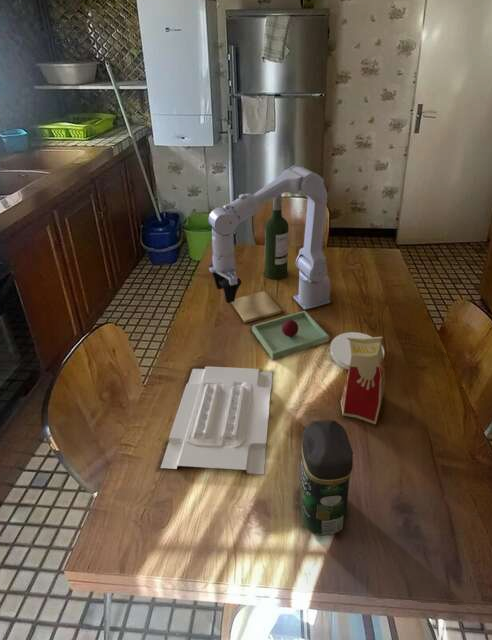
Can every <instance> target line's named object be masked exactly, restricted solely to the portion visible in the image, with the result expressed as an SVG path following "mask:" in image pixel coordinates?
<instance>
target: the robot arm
mask: <svg viewBox="0 0 492 640" xmlns="http://www.w3.org/2000/svg"><path fill="white" fill-rule="evenodd" d="M324 183H325V179H324V178H322V176H320V175H319V174H318V173H316V172H313V171H311V170H309V169H307V168H306V167H304V166H302V165H301V164H294V165H292V166H290V167H289V168H286V169H285V170H283V172H282V173H281V174H280V175H279V176H277V177H276V178H275V179H273V180H272V181H271V182H269V183H268V184H267V185H265V186H263V187H262V188H260V189H259V190H258V191H256V192H255V193H253V194H251V193H244V194H243V193H241V194H239V195H238V198H236V199H235V200H233V201H231V202H230V203H228V204H224V205H223V207H216V208H214V209H213V210H212V211H210V213H209V215H208V217H207V222H208V224H209V226H211V244H212V255H211V261H212V264H211V265H209V266H208V269H209V272H210V273H211V275H212V276H213V280H214V283H215V287H216V289H217V290H222V291H223V294H224V300H225V302H226V303H227V304H231V302H234V300H235V299H236V295H237V292H238V289H239V288H240V286H241V285H242V280H241V278H240V277H237V271H236V270H237V268H236V264H235V263H236V261H235V237H234V232H235V231H236V230H237V227H238V225H240V223H242V222H244V221H246V220H247V219H248V218H251V217H252V216H254V215H255V214H257V213H258V212H259V211H260V206H262V205H263V204H266V203H268V202H269V201H272V200H273V198H275V197H277V196H279V195H283V194H285V193H287V194H288V193H289V194H295V195H300V192H301V193H302V194H303V195H304V196H305V197H306V198H307V202H306V203H307V205H306V215H305V228H304V239H303V247H301V248H299V250H298V254H297V257H296V259H295V266H296V268H297V269H298V275H299V276H298V294H295V295H293V296H292V299H294V300H295V301H296V302H297V304H298V305H299V306H300V307H301V308H302V309H303V311H306V310H311V309H314V308H317V307H321V306H324V305H327V304H330V303H331V300H330V293H331V281H330V278H329V276H328V273H329V272H328V270H329V269H328V267H327V258H326V256H325V254H324V251H323V241H324V232H325V224H326V223H325V222H326V214H327V213H326V212H327V203H328V191H327V188H326V186H325V184H324Z"/></svg>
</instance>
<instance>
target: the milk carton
mask: <svg viewBox="0 0 492 640" xmlns="http://www.w3.org/2000/svg"><path fill="white" fill-rule="evenodd" d="M347 339H348V340H350V348H351V355H352V356H351V362H350V366H349V370H347V374H346V379H345V383H344V386H343V390H342V394H341V398H340V406H341V412H342V416H344V417H349V418H350V417H351V418H356V419H359V420H362V421H365V422H367V423H370V424H373V425H377V421H378V417H379V414H380V410H381V406H382V401H383V395H384V389H385V382H386V381H385V380H386V379H385V357H384V358H383V351H382V347H383V345H382V339H383V336H374V337H373V336H372V338H347Z"/></svg>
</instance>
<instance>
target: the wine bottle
mask: <svg viewBox="0 0 492 640" xmlns="http://www.w3.org/2000/svg"><path fill="white" fill-rule="evenodd" d="M282 197H283V194H281V195H279V196H277V197H275V198H273V199H272V215H271V216H270V217H269V218H268V219H267V221H266V222H265V224H264V273H265V276H266V277H267V278H269V279H273V280H280V279H284V278H285V277H286V276H287V275H288V261H289V260H288V257H289V229H290V228H289V227H290V226H289V222H288V221H287V220H286V218H285V217H283V215H282Z"/></svg>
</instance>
